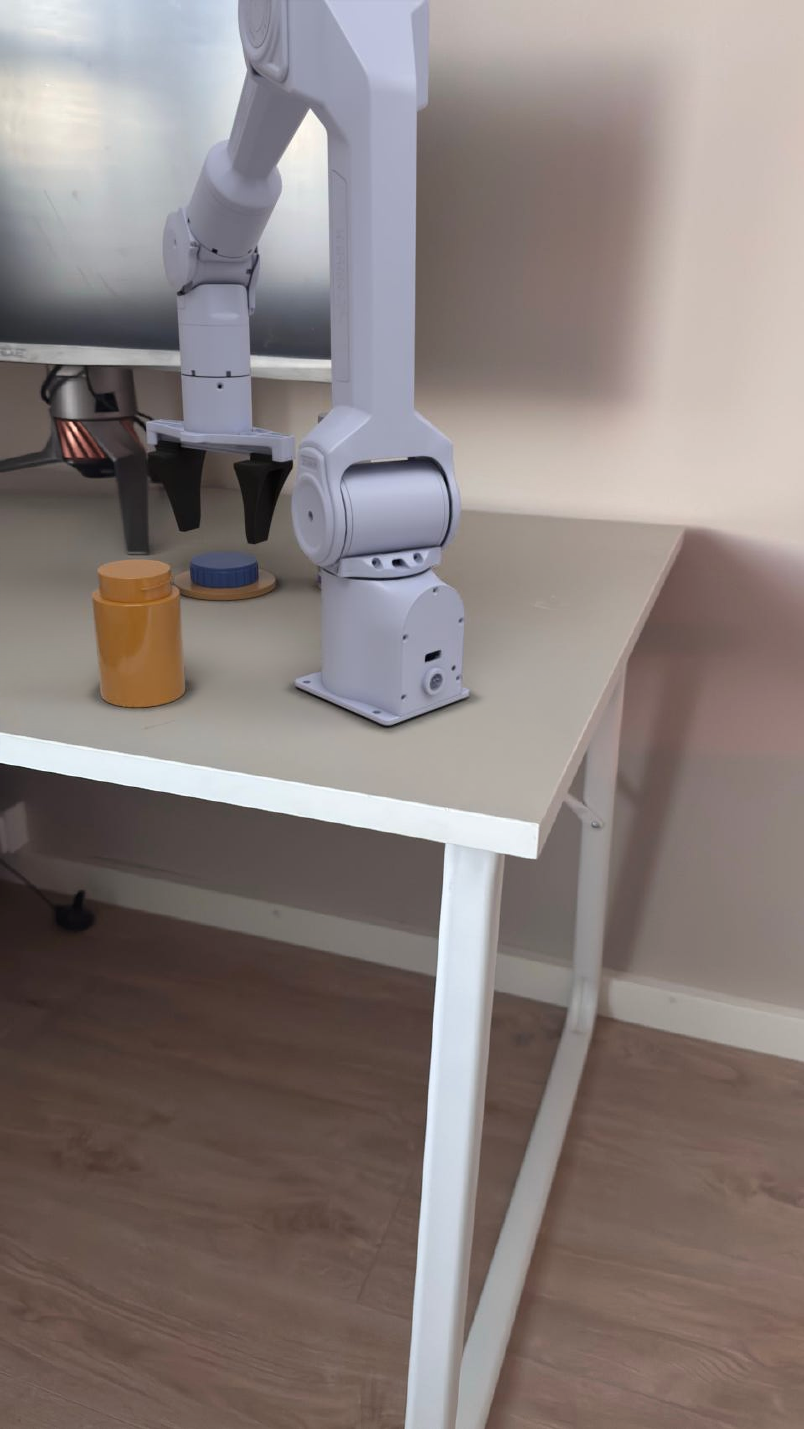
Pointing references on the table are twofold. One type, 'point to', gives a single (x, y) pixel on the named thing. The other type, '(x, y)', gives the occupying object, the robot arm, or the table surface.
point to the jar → (138, 634)
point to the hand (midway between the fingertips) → (223, 535)
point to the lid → (224, 569)
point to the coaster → (206, 593)
